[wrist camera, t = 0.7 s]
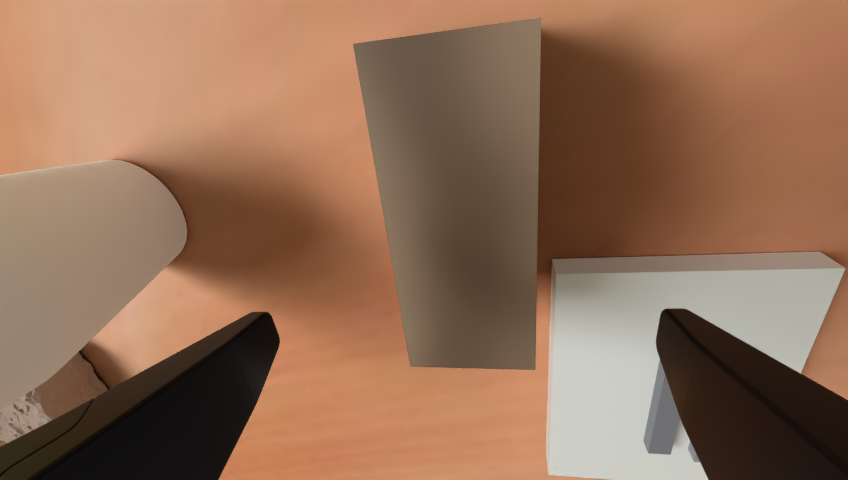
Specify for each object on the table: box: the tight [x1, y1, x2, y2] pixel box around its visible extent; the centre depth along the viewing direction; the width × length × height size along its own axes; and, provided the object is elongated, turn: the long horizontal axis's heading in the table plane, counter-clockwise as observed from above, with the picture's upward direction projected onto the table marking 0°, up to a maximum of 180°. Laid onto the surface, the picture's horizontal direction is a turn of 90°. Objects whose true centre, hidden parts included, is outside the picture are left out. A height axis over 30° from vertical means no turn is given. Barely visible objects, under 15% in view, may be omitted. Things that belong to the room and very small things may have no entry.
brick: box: [0, 352, 108, 443], centre depth 31 cm, size 17×8×5 cm, turn 100°
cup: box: [0, 160, 187, 411], centre depth 18 cm, size 9×9×12 cm
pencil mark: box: [643, 360, 680, 455], centre depth 21 cm, size 1×8×1 cm, turn 7°
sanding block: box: [353, 18, 541, 370], centre depth 16 cm, size 5×12×7 cm, turn 7°
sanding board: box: [546, 251, 846, 480], centre depth 22 cm, size 12×16×2 cm
